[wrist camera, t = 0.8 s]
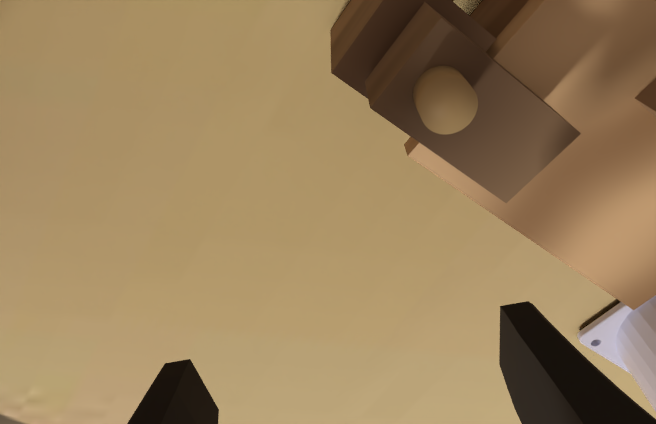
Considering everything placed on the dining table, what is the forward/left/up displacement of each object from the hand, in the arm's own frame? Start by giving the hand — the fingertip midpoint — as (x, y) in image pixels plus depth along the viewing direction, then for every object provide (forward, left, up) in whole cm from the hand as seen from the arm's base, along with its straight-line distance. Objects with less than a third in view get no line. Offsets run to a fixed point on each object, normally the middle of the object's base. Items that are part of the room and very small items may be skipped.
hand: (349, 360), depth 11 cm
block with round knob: (0, -6, -5) cm, 8 cm away
